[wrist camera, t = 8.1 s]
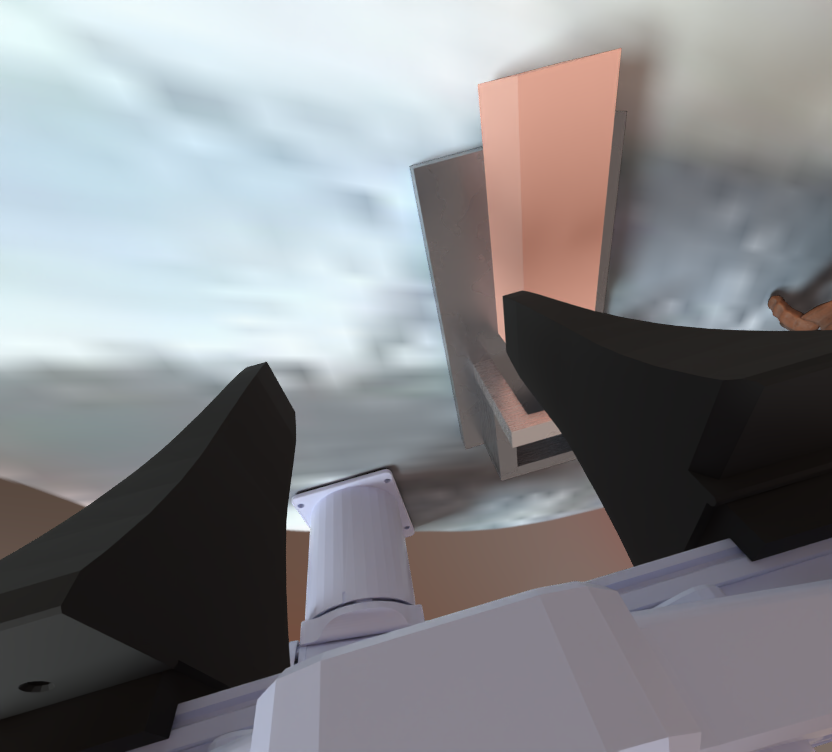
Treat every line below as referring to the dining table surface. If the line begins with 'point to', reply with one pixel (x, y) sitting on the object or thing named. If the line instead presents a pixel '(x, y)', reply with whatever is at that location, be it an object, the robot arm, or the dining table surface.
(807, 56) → the dining table surface
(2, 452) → the dining table surface
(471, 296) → the dispenser
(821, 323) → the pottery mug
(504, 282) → the copper rectangular block
